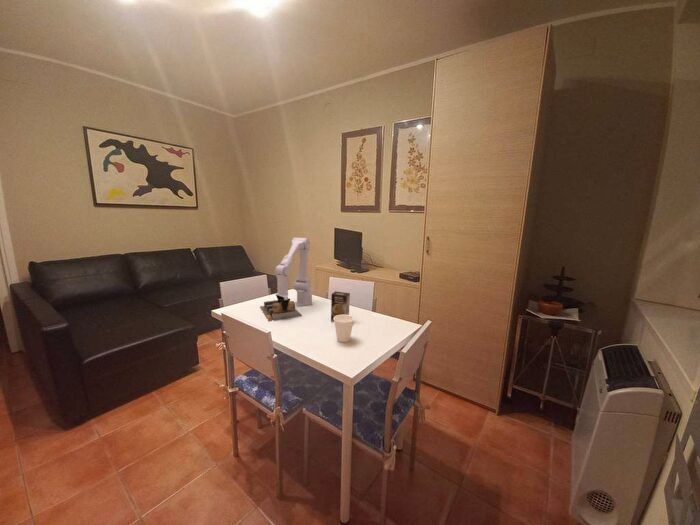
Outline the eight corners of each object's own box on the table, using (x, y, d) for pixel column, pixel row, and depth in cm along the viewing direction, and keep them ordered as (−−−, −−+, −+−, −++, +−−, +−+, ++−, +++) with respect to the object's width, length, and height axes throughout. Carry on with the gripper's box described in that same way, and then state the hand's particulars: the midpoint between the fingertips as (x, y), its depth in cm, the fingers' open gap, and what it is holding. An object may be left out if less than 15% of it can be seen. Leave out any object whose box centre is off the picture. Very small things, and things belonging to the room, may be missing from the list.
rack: (289, 303, 184) (289, 298, 183) (301, 316, 162) (301, 310, 162) (259, 307, 175) (259, 302, 174) (268, 321, 153) (268, 315, 153)
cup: (342, 333, 141) (342, 312, 139) (357, 339, 135) (358, 318, 133) (328, 340, 133) (329, 318, 131) (344, 346, 127) (345, 324, 125)
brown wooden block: (293, 312, 167) (293, 300, 166) (295, 314, 163) (295, 302, 162) (272, 315, 161) (272, 303, 160) (274, 317, 158) (274, 305, 157)
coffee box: (330, 321, 155) (330, 293, 152) (334, 317, 161) (334, 290, 159) (346, 323, 153) (346, 295, 150) (349, 319, 159) (350, 292, 156)
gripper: (272, 283, 163) (273, 305, 166) (278, 289, 151) (279, 313, 153) (284, 282, 167) (284, 303, 169) (291, 288, 154) (291, 311, 157)
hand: (283, 308), depth 161 cm, fingers open, 7 cm apart
